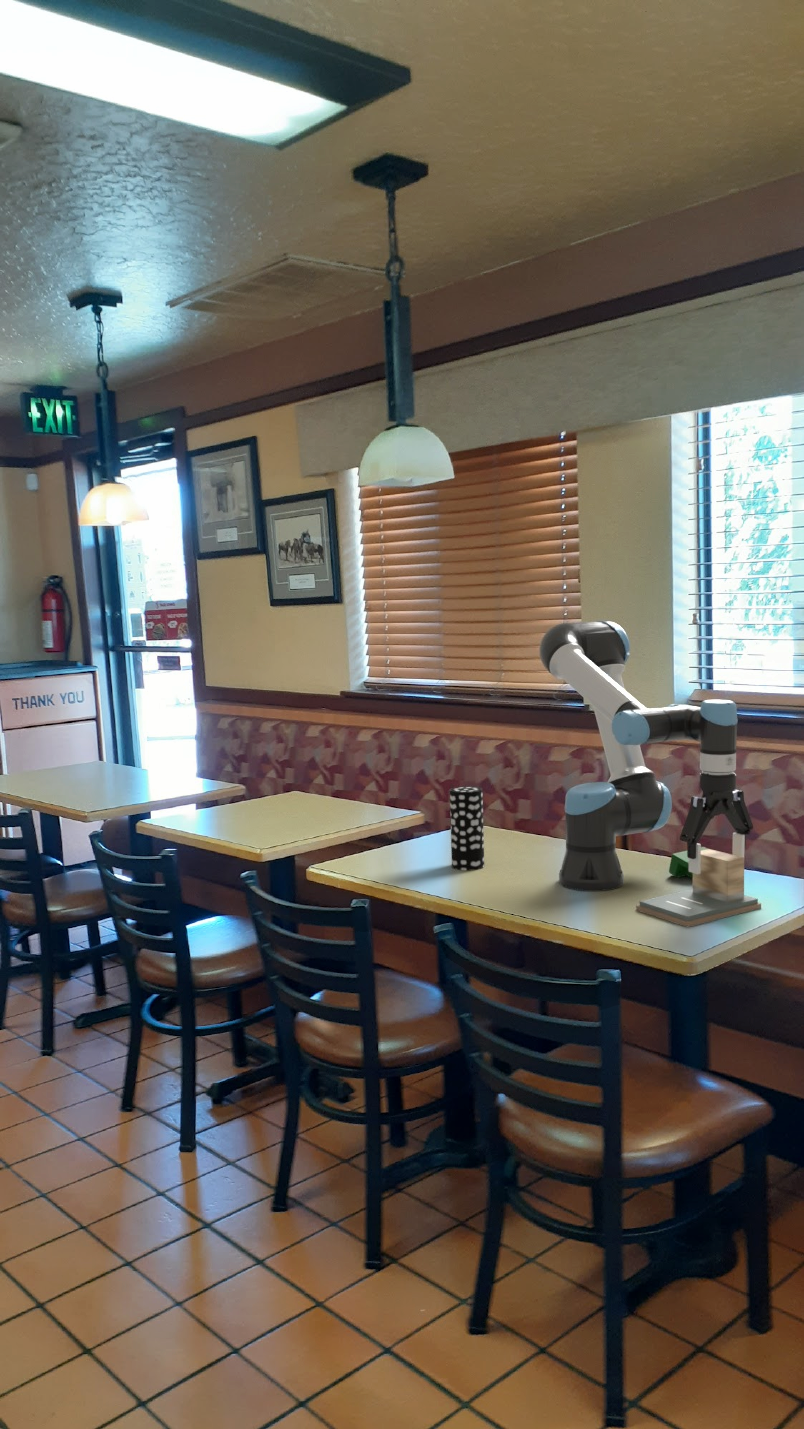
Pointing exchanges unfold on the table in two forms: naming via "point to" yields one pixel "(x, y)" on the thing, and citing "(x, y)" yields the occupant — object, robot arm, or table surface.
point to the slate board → (694, 907)
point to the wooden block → (720, 876)
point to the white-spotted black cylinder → (467, 828)
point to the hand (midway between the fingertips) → (716, 867)
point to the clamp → (681, 864)
